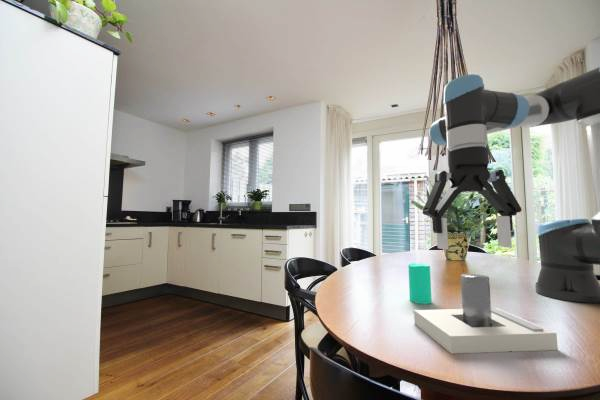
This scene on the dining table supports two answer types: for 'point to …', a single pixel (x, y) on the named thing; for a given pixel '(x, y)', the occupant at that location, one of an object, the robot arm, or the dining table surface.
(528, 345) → the jig
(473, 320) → the tall grey prism
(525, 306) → the dining table surface
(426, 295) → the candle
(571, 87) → the robot arm
